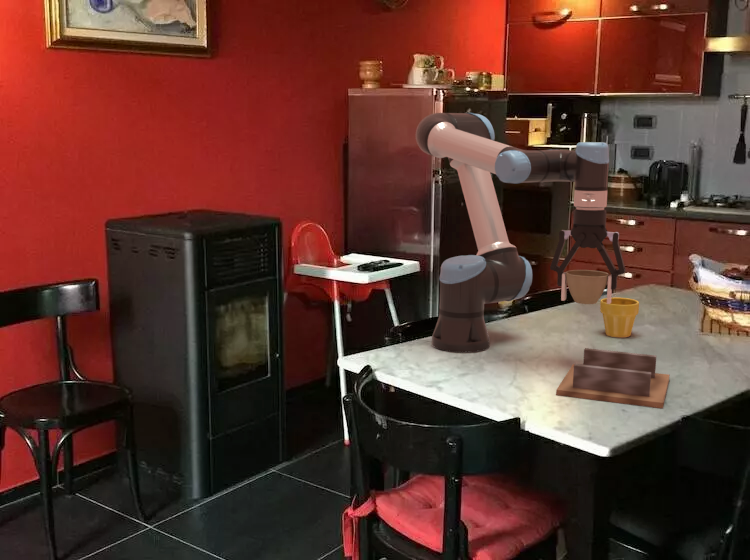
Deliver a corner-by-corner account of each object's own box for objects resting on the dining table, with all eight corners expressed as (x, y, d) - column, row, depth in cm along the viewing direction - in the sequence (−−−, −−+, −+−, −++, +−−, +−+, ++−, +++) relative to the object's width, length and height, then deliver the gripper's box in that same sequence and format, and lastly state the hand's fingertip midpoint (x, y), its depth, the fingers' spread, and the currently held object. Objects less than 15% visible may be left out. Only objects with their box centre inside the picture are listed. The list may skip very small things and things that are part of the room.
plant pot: (596, 337, 236) (598, 302, 235) (601, 329, 246) (603, 295, 244) (635, 341, 233) (637, 305, 231) (638, 332, 242) (640, 298, 240)
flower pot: (584, 308, 199) (585, 277, 197) (556, 300, 207) (557, 271, 206) (616, 304, 203) (618, 274, 202) (587, 297, 212) (588, 268, 211)
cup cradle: (556, 395, 186) (557, 367, 185) (572, 368, 206) (574, 343, 205) (662, 408, 178) (664, 379, 177) (669, 379, 198) (671, 353, 197)
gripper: (539, 208, 202) (536, 300, 206) (638, 211, 194) (633, 307, 198) (544, 205, 209) (541, 295, 213) (641, 208, 201) (636, 301, 205)
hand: (586, 301), depth 205 cm, fingers closed on flower pot, 10 cm apart
